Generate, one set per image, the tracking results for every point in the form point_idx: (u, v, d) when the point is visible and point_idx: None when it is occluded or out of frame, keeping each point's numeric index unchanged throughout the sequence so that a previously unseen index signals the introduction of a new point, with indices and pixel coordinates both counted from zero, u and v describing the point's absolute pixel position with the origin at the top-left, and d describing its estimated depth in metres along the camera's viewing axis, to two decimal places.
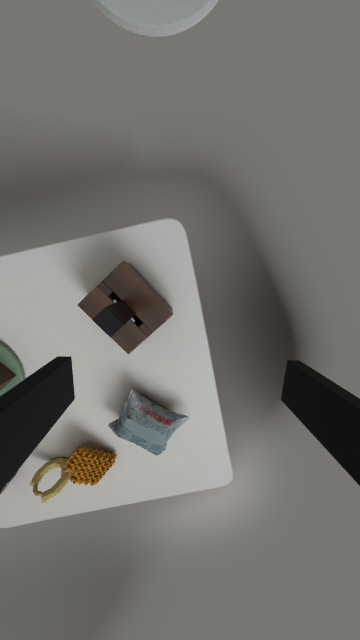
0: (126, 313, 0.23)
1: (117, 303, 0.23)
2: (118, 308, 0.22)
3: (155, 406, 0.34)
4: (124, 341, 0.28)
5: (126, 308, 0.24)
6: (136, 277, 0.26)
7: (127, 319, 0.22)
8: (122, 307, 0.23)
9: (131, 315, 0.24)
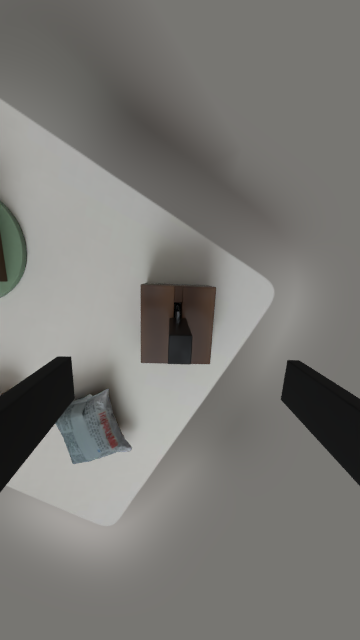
0: None
1: (188, 326, 0.20)
2: None
3: (113, 418, 0.29)
4: (149, 350, 0.24)
5: None
6: (212, 309, 0.24)
7: None
8: None
9: None
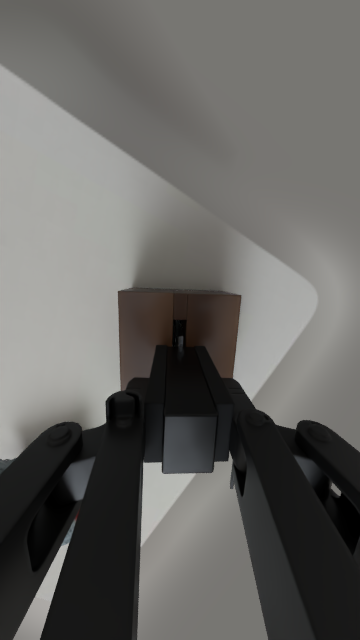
0: None
1: None
2: None
3: None
4: None
5: None
6: (234, 331, 0.15)
7: None
8: None
9: None
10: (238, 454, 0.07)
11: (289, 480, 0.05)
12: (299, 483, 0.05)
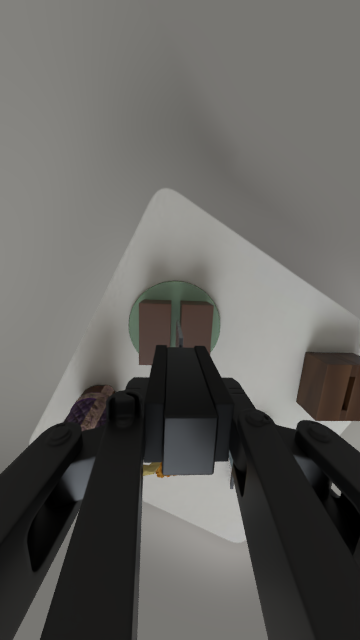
0: None
1: None
2: None
3: None
4: (324, 411, 0.31)
5: None
6: None
7: None
8: None
9: None
10: (238, 454, 0.07)
11: (289, 480, 0.05)
12: (299, 483, 0.05)
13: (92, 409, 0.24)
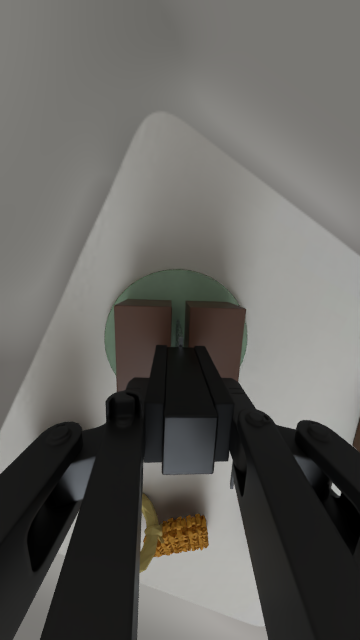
0: None
1: None
2: None
3: None
4: None
5: None
6: None
7: None
8: None
9: None
10: (238, 454, 0.07)
11: (289, 480, 0.05)
12: (299, 483, 0.05)
13: None
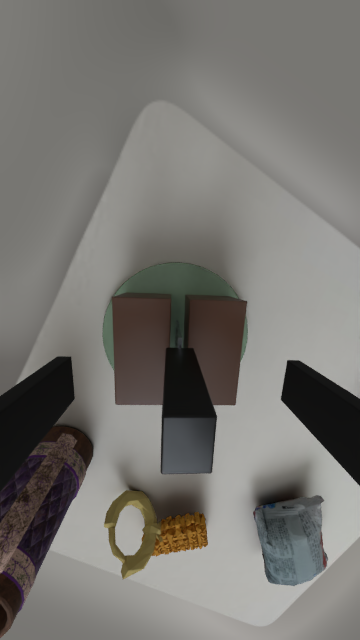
0: None
1: None
2: None
3: None
4: None
5: None
6: None
7: None
8: None
9: None
10: None
11: None
12: None
13: (16, 506, 0.12)
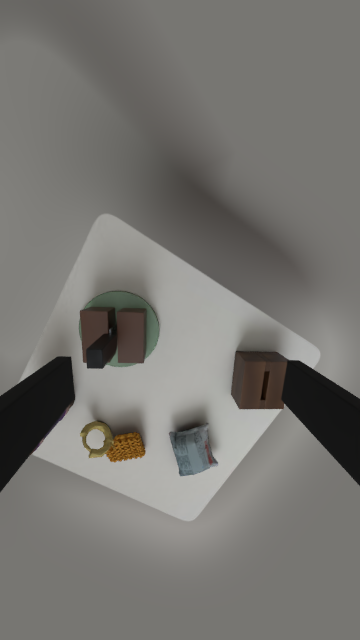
0: (110, 352, 0.28)
1: (110, 341, 0.27)
2: (108, 348, 0.26)
3: (208, 443, 0.42)
4: (245, 401, 0.37)
5: (113, 345, 0.29)
6: None
7: (108, 360, 0.26)
8: (111, 345, 0.28)
9: (112, 353, 0.28)
10: None
11: None
12: None
13: None
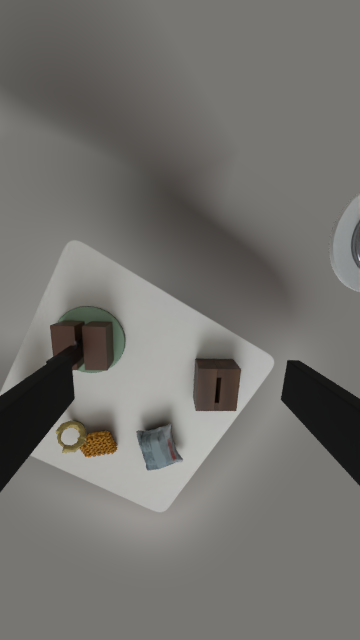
0: (72, 362, 0.32)
1: (72, 353, 0.32)
2: None
3: (172, 441, 0.46)
4: (201, 403, 0.41)
5: (76, 356, 0.34)
6: (238, 381, 0.41)
7: None
8: (73, 356, 0.33)
9: (75, 363, 0.33)
10: None
11: None
12: None
13: None
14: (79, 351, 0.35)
